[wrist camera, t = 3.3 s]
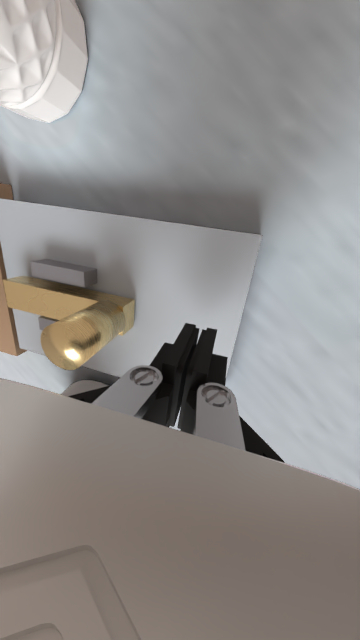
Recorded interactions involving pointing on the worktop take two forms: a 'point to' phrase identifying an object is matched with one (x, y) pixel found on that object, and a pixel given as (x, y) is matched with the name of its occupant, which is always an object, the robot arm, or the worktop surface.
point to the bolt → (71, 317)
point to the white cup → (41, 57)
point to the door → (126, 276)
